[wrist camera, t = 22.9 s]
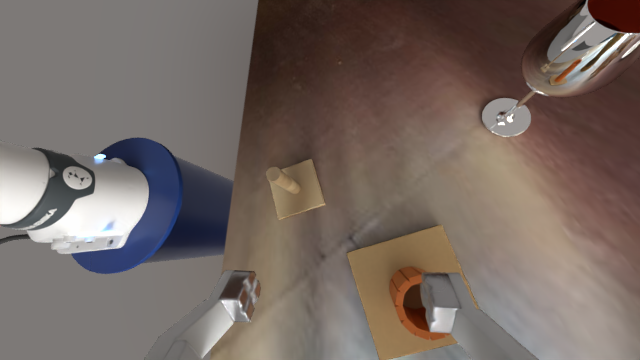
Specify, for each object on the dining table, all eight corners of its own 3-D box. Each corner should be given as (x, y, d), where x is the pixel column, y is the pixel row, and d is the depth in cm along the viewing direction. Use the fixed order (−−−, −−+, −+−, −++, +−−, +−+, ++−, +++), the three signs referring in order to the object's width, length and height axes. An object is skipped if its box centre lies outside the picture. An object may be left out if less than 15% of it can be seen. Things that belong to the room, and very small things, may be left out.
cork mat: (379, 358, 31) (380, 361, 30) (347, 252, 35) (346, 252, 34) (487, 332, 29) (491, 335, 28) (439, 224, 33) (441, 224, 33)
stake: (280, 219, 39) (251, 213, 29) (269, 175, 41) (239, 156, 31) (325, 204, 38) (310, 192, 28) (312, 160, 40) (294, 136, 30)
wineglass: (541, 142, 33) (720, 40, 16) (477, 143, 35) (578, 53, 18) (532, 91, 35) (684, -47, 18) (471, 95, 37) (558, -27, 20)
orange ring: (399, 320, 31) (408, 346, 23) (383, 273, 33) (386, 283, 25) (444, 308, 30) (469, 331, 22) (425, 261, 32) (442, 268, 24)
